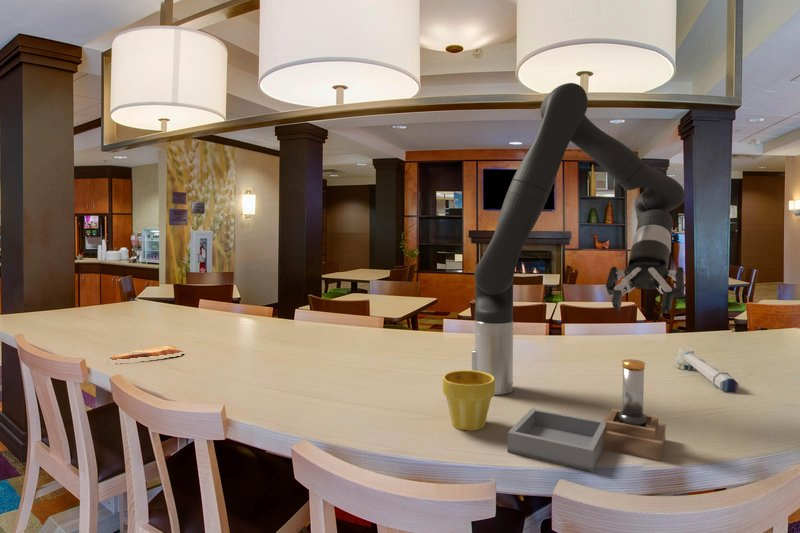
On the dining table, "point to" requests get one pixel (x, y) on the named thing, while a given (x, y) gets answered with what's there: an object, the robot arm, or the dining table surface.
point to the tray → (558, 439)
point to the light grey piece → (705, 370)
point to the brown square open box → (635, 436)
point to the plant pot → (468, 397)
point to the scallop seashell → (152, 352)
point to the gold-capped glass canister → (633, 393)
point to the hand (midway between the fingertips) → (639, 309)
